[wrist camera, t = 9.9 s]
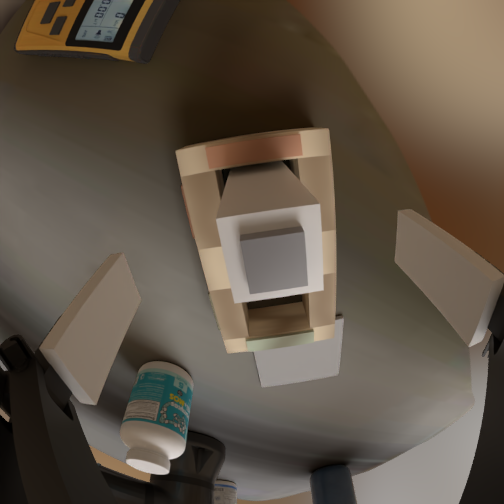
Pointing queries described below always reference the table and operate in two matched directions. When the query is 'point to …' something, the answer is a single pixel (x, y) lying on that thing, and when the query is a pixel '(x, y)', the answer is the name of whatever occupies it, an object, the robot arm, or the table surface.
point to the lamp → (332, 485)
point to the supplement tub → (225, 492)
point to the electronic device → (95, 28)
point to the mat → (301, 360)
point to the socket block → (209, 245)
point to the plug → (270, 233)
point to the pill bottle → (157, 417)
